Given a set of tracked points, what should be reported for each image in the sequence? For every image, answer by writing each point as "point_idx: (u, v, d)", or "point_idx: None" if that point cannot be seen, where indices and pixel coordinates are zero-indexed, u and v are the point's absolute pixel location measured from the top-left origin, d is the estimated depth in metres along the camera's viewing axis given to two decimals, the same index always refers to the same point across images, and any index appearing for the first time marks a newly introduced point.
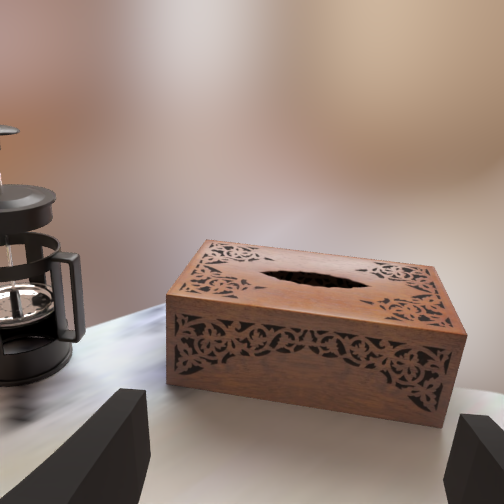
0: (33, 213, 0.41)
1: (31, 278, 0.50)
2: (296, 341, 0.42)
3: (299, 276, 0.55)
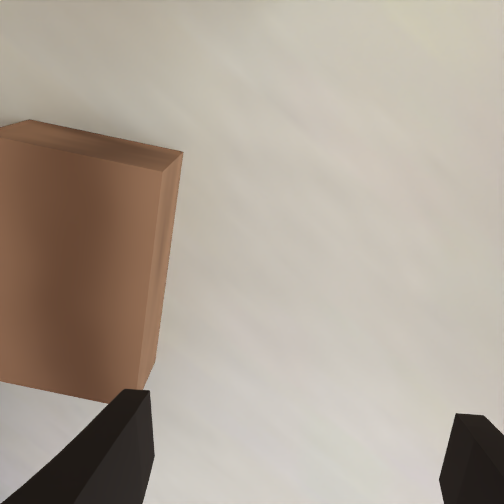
0: None
1: None
2: None
3: None
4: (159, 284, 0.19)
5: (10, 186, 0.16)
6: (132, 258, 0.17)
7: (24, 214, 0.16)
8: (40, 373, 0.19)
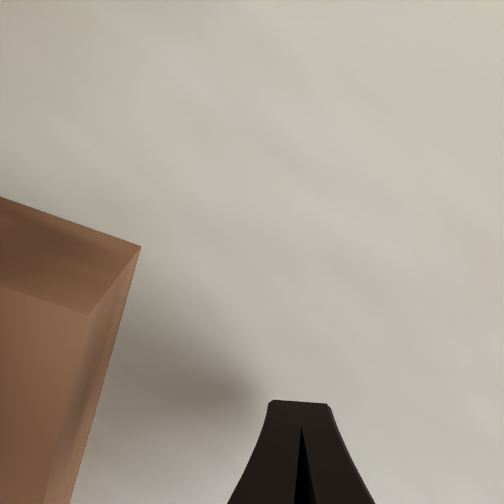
0: None
1: None
2: None
3: None
4: (77, 439, 0.12)
5: None
6: (23, 435, 0.10)
7: None
8: None
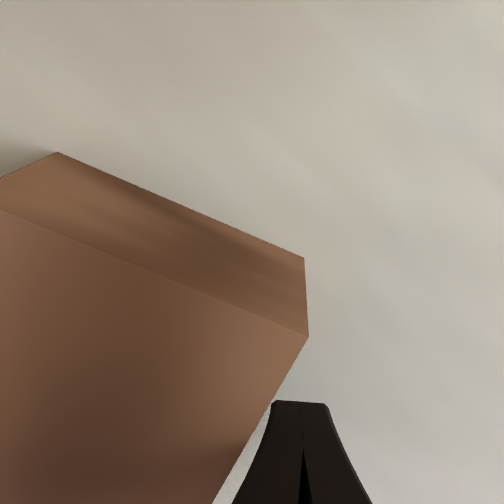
0: None
1: None
2: None
3: None
4: None
5: (6, 298, 0.08)
6: (201, 452, 0.09)
7: (20, 346, 0.09)
8: None
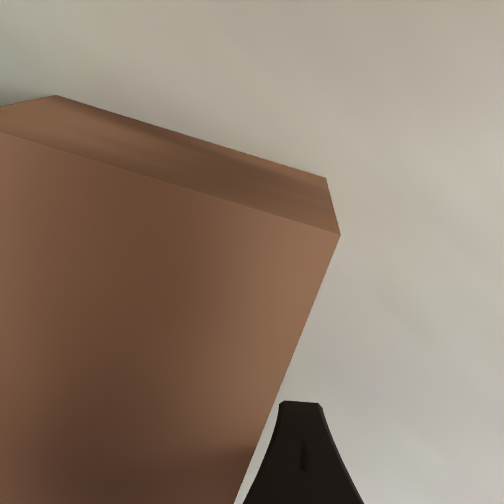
0: None
1: None
2: None
3: None
4: None
5: (9, 232, 0.08)
6: (238, 387, 0.08)
7: (31, 288, 0.08)
8: None
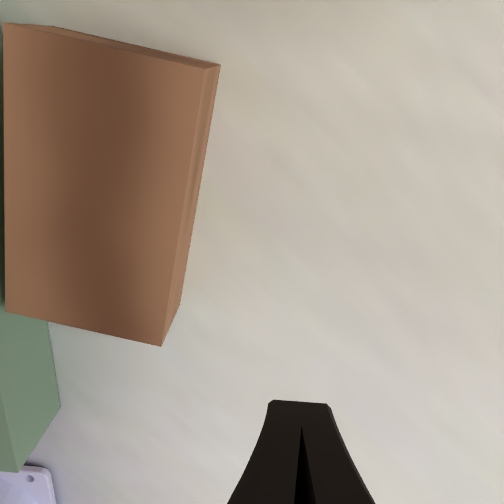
0: None
1: None
2: None
3: None
4: (190, 212, 0.18)
5: (35, 86, 0.14)
6: (166, 172, 0.15)
7: (49, 119, 0.15)
8: (61, 305, 0.18)
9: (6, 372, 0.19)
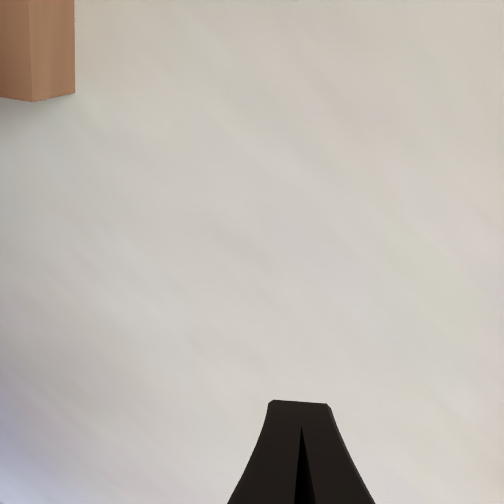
0: None
1: None
2: None
3: None
4: None
5: None
6: None
7: None
8: None
9: None
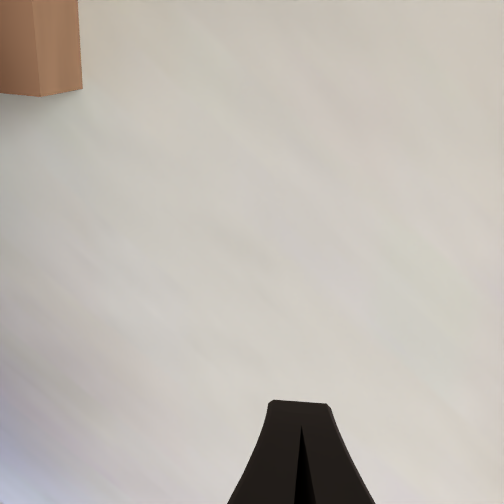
0: None
1: None
2: None
3: None
4: None
5: None
6: None
7: None
8: None
9: None
